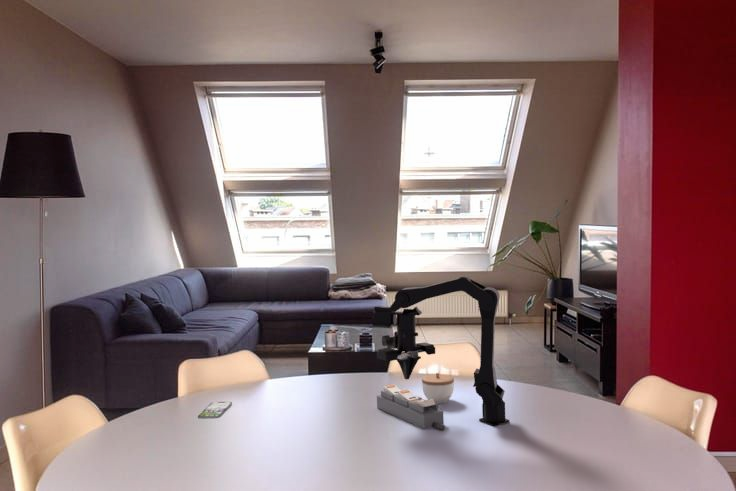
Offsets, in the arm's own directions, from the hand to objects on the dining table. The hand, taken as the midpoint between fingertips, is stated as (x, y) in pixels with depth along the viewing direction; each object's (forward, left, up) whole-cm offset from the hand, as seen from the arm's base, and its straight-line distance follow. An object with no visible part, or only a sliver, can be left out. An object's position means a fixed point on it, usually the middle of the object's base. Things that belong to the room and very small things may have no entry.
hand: (406, 379), depth 186 cm
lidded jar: (+7, -18, -12) cm, 22 cm away
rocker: (+8, -1, -6) cm, 10 cm away
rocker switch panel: (-2, -1, -12) cm, 12 cm away
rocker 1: (-8, -1, -6) cm, 10 cm away
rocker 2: (0, -1, -6) cm, 6 cm away
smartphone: (+43, +47, -12) cm, 65 cm away
